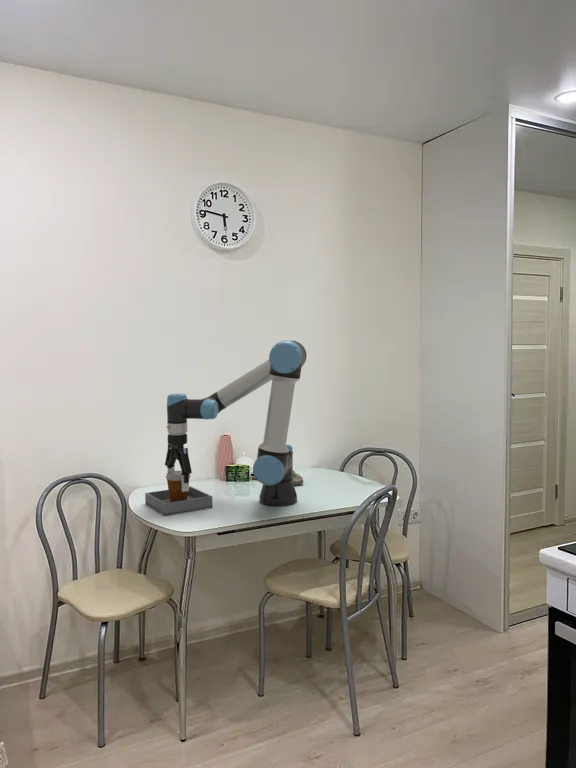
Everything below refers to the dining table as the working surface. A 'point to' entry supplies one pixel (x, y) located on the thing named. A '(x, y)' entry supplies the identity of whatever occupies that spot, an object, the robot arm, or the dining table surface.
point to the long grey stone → (297, 479)
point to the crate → (178, 502)
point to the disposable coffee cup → (176, 486)
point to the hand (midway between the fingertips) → (178, 487)
